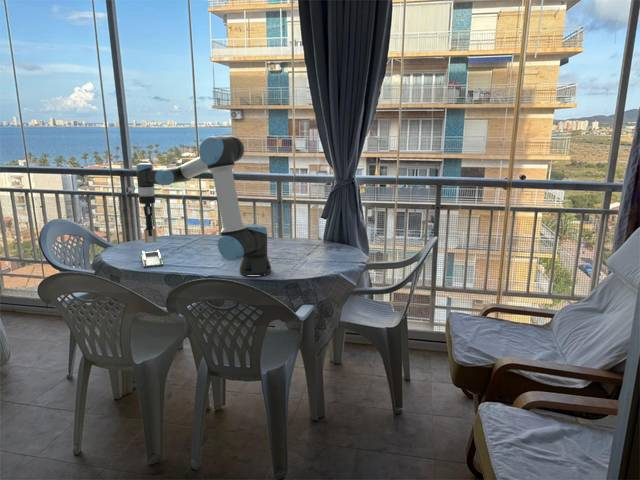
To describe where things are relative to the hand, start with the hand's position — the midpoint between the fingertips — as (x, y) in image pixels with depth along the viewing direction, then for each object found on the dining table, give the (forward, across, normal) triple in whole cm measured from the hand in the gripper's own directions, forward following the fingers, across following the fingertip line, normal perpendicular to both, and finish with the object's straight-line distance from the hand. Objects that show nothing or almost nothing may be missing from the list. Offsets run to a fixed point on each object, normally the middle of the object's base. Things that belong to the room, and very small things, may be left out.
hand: (150, 240), depth 223 cm
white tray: (+11, 0, 0) cm, 11 cm away
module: (0, 0, 0) cm, 0 cm away
